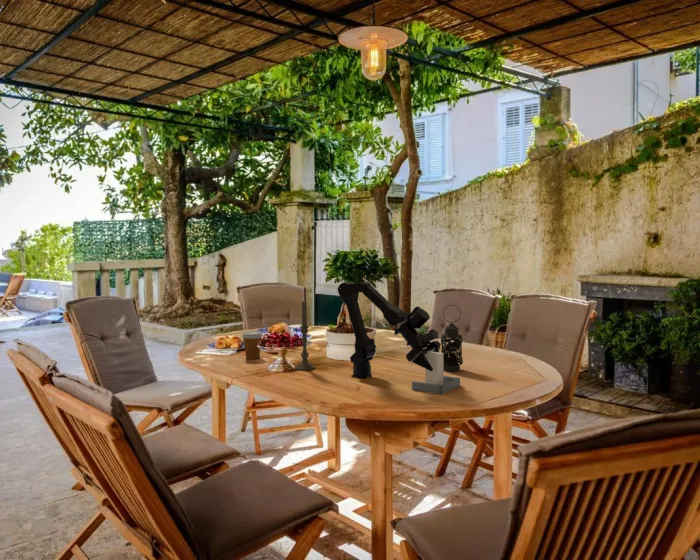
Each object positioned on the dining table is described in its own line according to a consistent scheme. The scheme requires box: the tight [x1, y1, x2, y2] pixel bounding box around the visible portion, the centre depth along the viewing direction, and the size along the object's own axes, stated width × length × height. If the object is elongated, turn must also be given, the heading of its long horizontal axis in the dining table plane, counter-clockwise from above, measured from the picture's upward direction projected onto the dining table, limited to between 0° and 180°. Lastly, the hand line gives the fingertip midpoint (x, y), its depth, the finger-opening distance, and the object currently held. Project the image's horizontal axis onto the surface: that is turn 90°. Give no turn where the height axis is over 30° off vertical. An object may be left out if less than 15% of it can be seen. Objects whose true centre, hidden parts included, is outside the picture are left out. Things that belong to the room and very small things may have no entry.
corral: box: [411, 375, 461, 395], centre depth 224 cm, size 12×15×3 cm
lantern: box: [440, 304, 464, 373], centre depth 252 cm, size 10×9×28 cm
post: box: [424, 352, 444, 385], centre depth 224 cm, size 5×5×13 cm
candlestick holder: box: [294, 299, 316, 371], centre depth 258 cm, size 9×9×30 cm
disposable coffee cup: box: [241, 330, 263, 360], centre depth 282 cm, size 10×10×12 cm
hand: (437, 368), depth 223 cm, fingers open, 9 cm apart
